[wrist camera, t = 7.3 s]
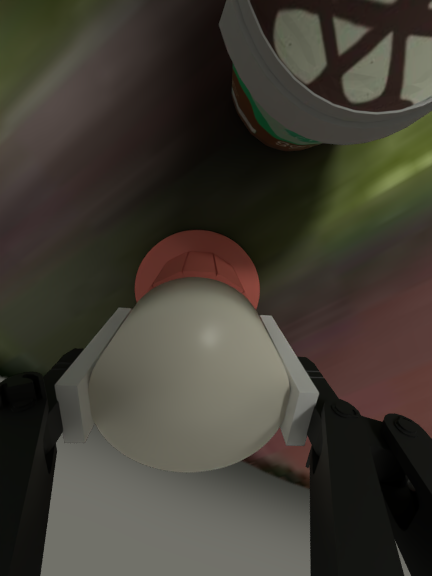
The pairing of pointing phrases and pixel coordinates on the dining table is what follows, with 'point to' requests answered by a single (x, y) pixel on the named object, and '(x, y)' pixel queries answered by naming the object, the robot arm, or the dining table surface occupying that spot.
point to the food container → (328, 68)
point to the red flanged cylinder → (198, 263)
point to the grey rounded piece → (189, 379)
